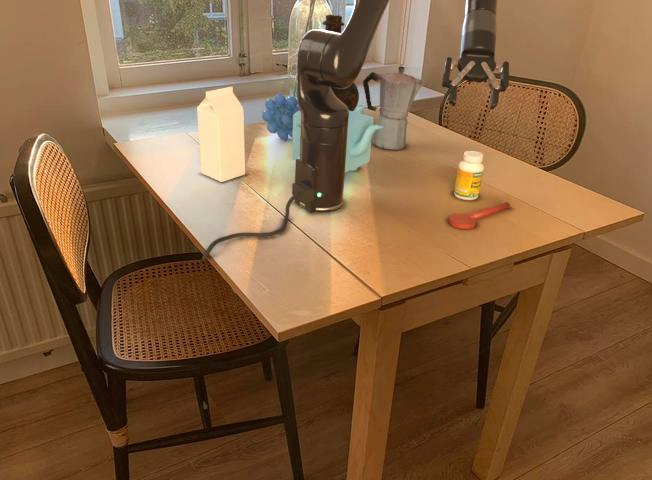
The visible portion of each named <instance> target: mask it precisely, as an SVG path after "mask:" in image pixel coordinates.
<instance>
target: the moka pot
mask: <svg viewBox="0 0 652 480" xmlns="http://www.w3.org/2000/svg"><path fill="white" fill-rule="evenodd" d="M405 69H406V68H405V67H404V66H398V72H387V73H376V72H373V71H372V72H370V73H369V74H368V75H367V76H366V77H365V78H364V79H363V82H362V85H363V90H364V95H365V99H366V101H365V102H366V104H367V105H366V107H367V109H368V110H369V111H373V112H377V110H378V107H377V106H373V105H372V100H371V92H370V85H369V82H370V81H374V82H375V83H379V106H380V108H379V115H378V118H377V121H376V125H379V126H382V127H383V128H382V129H378V130H377V131H375V132H374V134H373V136H372V139H371V144H372V145H374V146H377V147H378V148H381V149H383V150H392V151H393V150H395V151H397V150H402V149H404V148H405V147H406V144H407V127H408V126H407V125H408V123H409V122H408V117H409V111H410V110H411V109H412V106H413V103H414V101H415V98H416V96H417V95H418V94H419V93H420V91H421V89H422V87H423V86H424V85H426V83H425V82H424V80H423V79H421V78H418V77H415V76H413V75H411V74H406V73H404V72H405Z"/></svg>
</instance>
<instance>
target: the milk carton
mask: <svg viewBox="0 0 652 480" xmlns="http://www.w3.org/2000/svg"><path fill="white" fill-rule="evenodd" d="M244 111H245V109H244V107H243V106H242V104H241V102H240V101H239V99H238V98H237V96H236V94H235V93H234V89H233V86H227V87H222V88H217V89H213V90H207V91H205V97H204V99H203V100H202V101H201V102H200V103H199V104H198V106H197V107H196V115H197V117H196V118H197V128H198V142H199V143H198V144H199V158H200V171H201V174H202V175H203V176H207V177H209V178H211V179H213V180H216V181H218V182H220V183H223V182H226V181H227V182H228V181H230V180H232V179H236V178H238V177H241V176H245V175H246V153H245V152H246V151H245V149H246V147H245V115H244V114H245V113H244Z"/></svg>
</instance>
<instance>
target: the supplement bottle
mask: <svg viewBox="0 0 652 480" xmlns="http://www.w3.org/2000/svg"><path fill="white" fill-rule="evenodd" d="M483 160H484V154H483V152H481V151H476V150H466V151H464V153H463V156H462V160H461V161H460V162H459V163H458V167H457V172H456V179H455V183H454V190H453V194H454V196H455V198H457V199H460V200H462V201H463V200H464V201H473V200H474V201H475V200H476V199H478V197H479V195H480V190H481V185H482V181H483V175H484V171H485V166H484V164H483V163H482V162H483Z"/></svg>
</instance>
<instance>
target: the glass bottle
mask: <svg viewBox="0 0 652 480" xmlns="http://www.w3.org/2000/svg"><path fill="white" fill-rule="evenodd" d="M342 18H343V16H342V15H339V14H338V15H334V14H327V15H325V20H323V21H322V25H324V26H325V29H324V30H325V31H331V32H336V33H342V27H344V26H345V23H344V22H342V21H343V19H342ZM331 89H332V91H333V93H334V94H335V96H336V97H337V98H338V99H339V100H340V101H342V102H343V103H344V104H345V105H346V106H347V107H348V109H349V111H354V110H355V108H356V107H357V106H358V105H359V101H360V93H359V92H360V91H359V89H358V86H357V84H356V83H355V82H354V83H353V84H352V85H351V86H349V87H347V88H345V89H338V88H333V87H331Z"/></svg>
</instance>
